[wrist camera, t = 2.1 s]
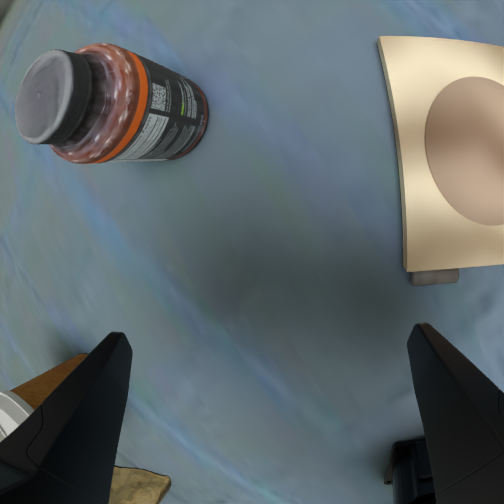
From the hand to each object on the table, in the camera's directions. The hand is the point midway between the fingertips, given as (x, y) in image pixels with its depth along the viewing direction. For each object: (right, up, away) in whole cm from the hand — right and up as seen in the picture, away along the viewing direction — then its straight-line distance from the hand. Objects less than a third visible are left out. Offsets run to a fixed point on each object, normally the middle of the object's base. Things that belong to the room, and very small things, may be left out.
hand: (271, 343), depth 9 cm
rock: (-16, -27, +24) cm, 39 cm away
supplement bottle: (-6, +12, +11) cm, 17 cm away
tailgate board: (+14, +9, +6) cm, 17 cm away
